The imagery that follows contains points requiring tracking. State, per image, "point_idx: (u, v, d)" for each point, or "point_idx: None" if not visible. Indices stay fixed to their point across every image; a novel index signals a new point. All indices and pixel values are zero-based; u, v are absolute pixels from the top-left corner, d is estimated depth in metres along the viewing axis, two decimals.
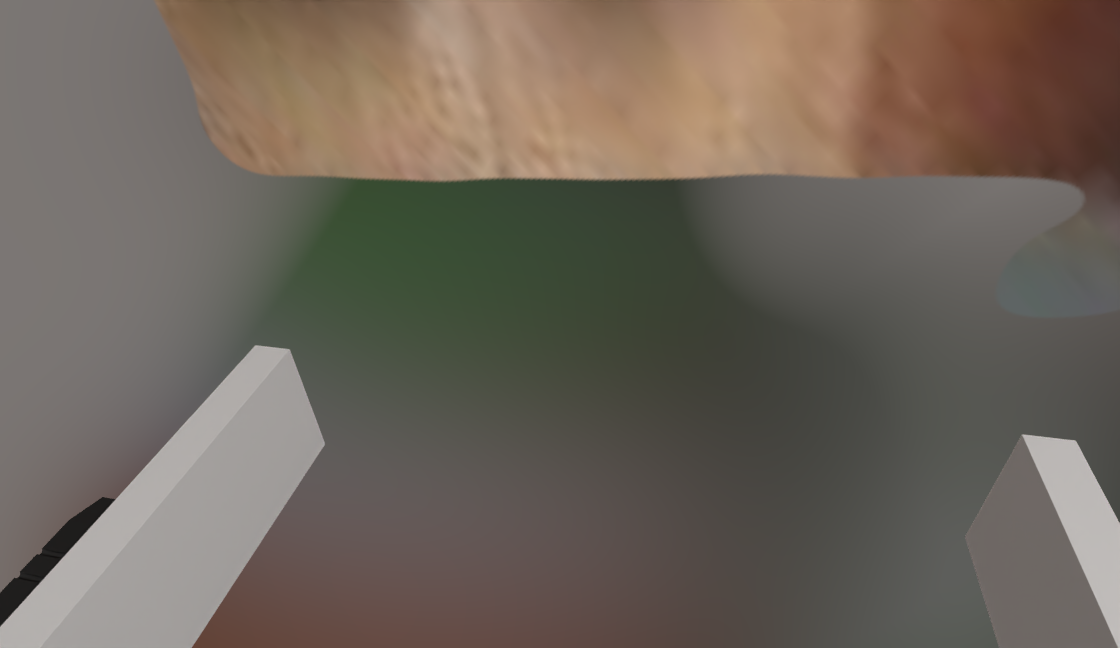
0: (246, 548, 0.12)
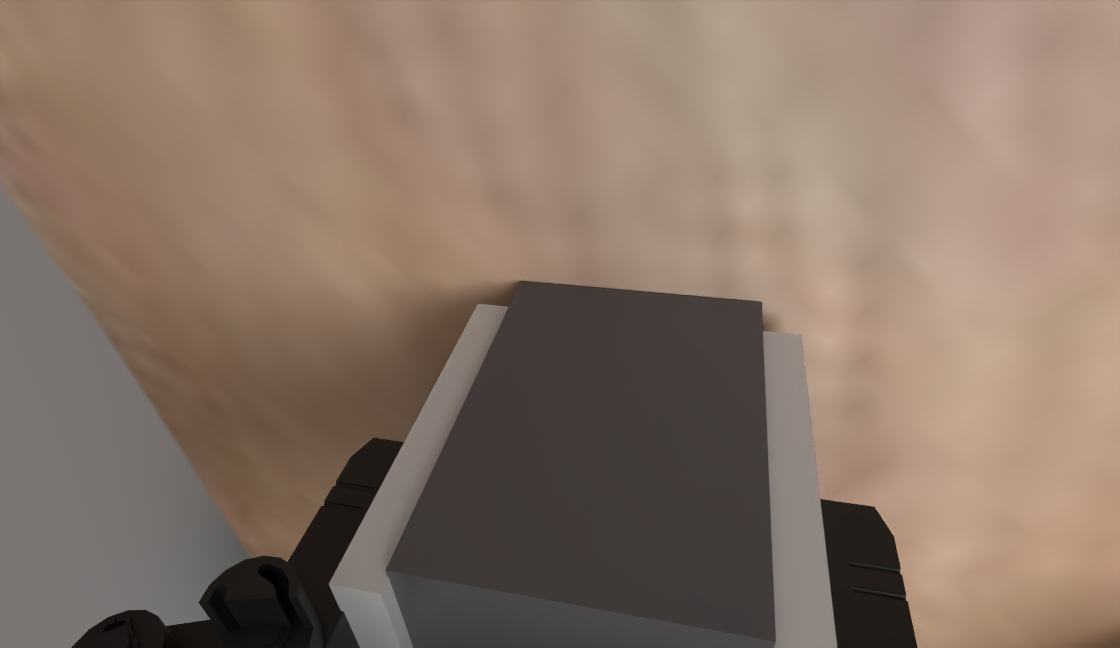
0: None
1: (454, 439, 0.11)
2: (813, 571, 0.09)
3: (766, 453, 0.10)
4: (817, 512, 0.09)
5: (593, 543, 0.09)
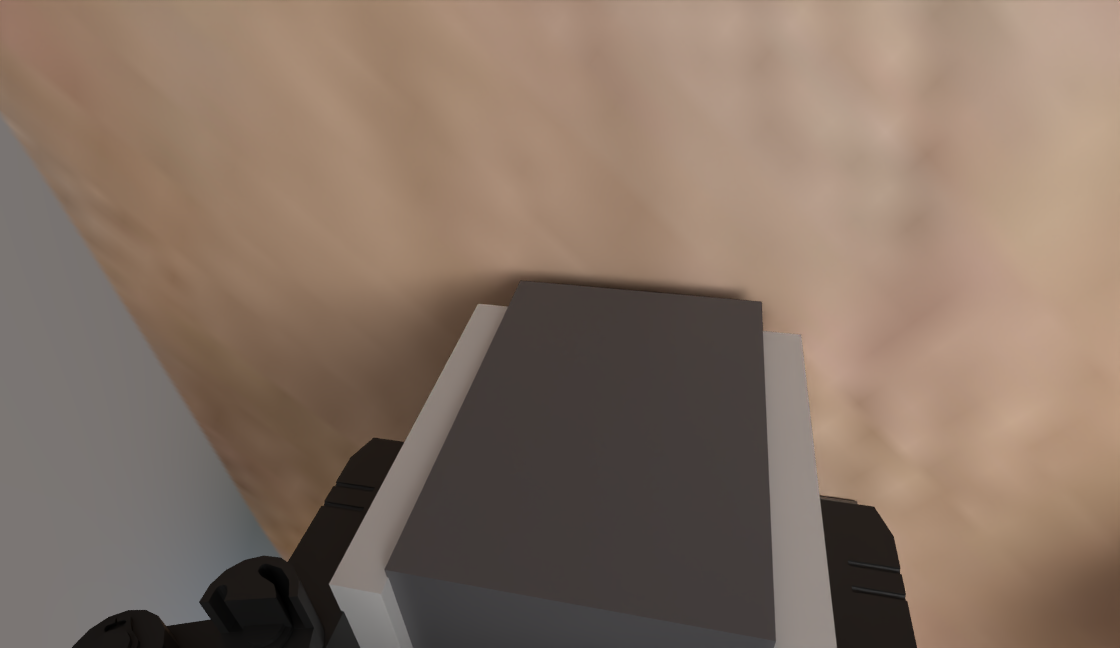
0: None
1: (453, 438, 0.11)
2: (813, 571, 0.09)
3: (766, 452, 0.10)
4: (817, 512, 0.09)
5: (593, 543, 0.09)
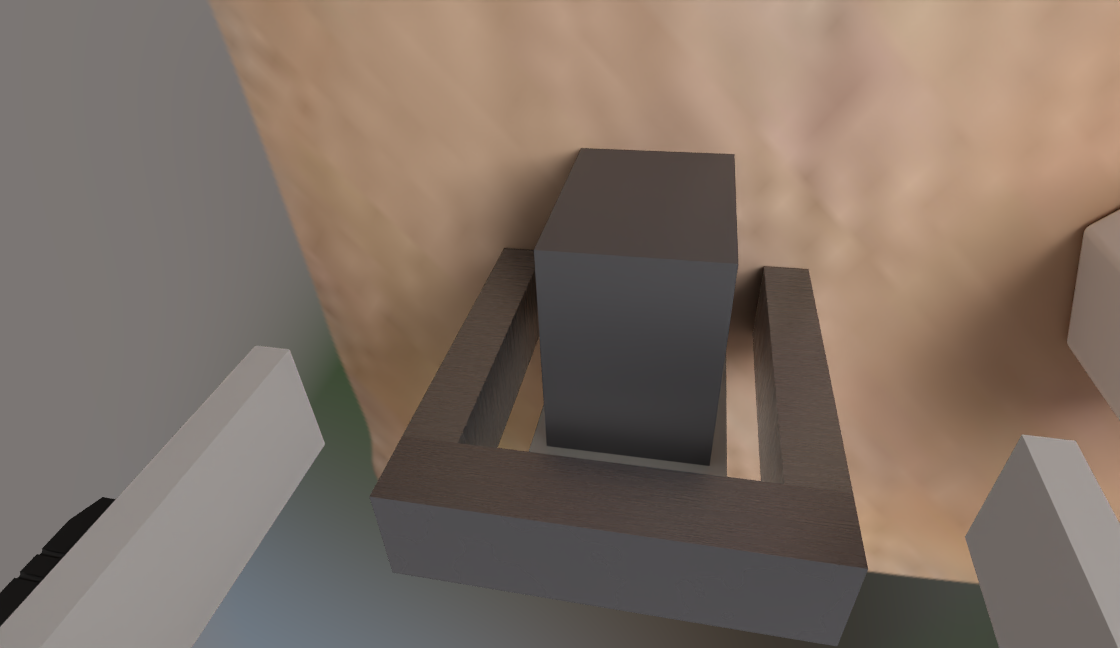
0: (245, 547, 0.12)
1: (557, 208, 0.18)
2: None
3: (735, 209, 0.18)
4: None
5: (643, 239, 0.17)
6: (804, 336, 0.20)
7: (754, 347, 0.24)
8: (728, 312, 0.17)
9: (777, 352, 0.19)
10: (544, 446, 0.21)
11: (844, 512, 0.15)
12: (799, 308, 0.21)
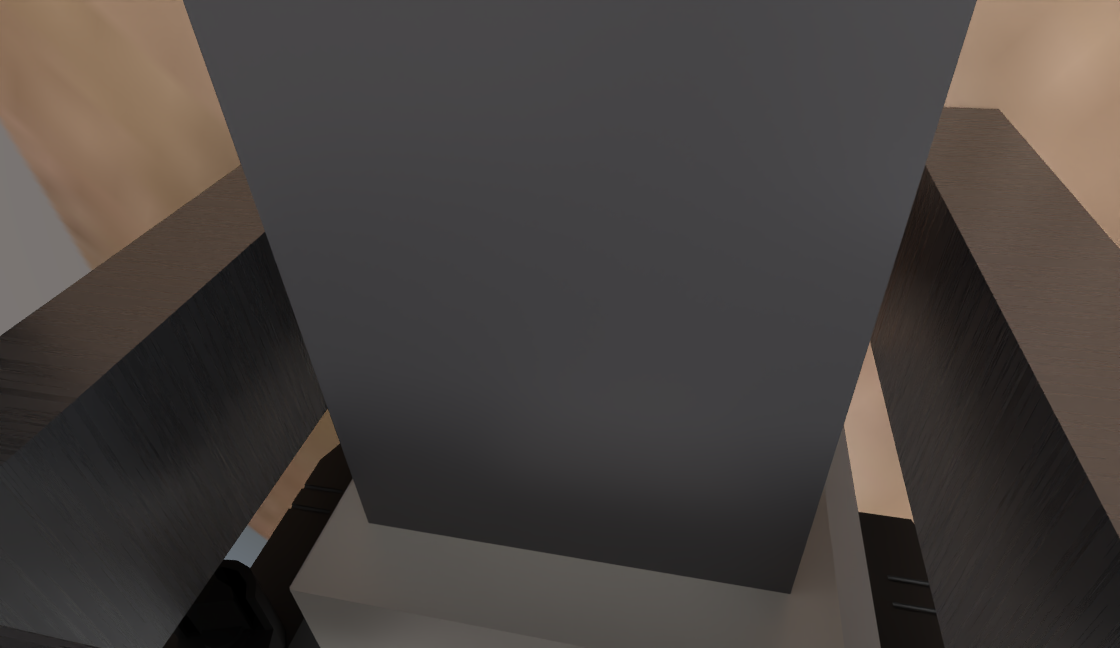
0: None
1: None
2: (855, 587, 0.08)
3: None
4: (856, 526, 0.09)
5: None
6: (1057, 236, 0.07)
7: None
8: (943, 64, 0.04)
9: (999, 276, 0.07)
10: (362, 524, 0.08)
11: None
12: (1014, 177, 0.08)
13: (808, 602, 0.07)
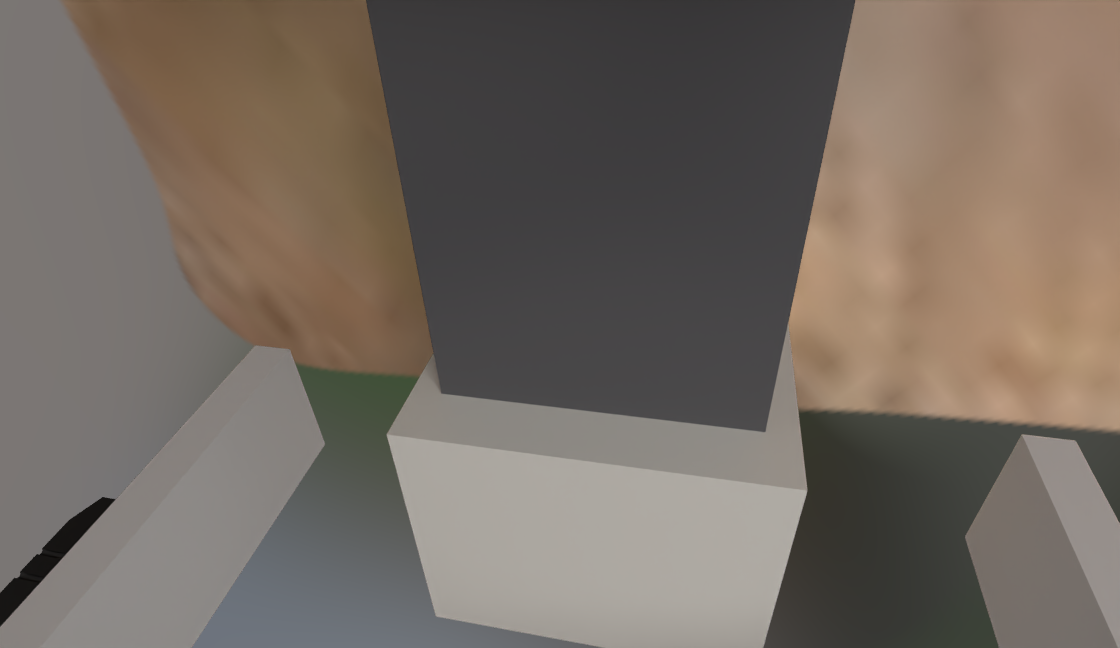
0: (245, 548, 0.12)
1: None
2: None
3: None
4: None
5: None
6: None
7: None
8: (843, 17, 0.06)
9: None
10: (437, 394, 0.11)
11: None
12: None
13: (778, 436, 0.10)
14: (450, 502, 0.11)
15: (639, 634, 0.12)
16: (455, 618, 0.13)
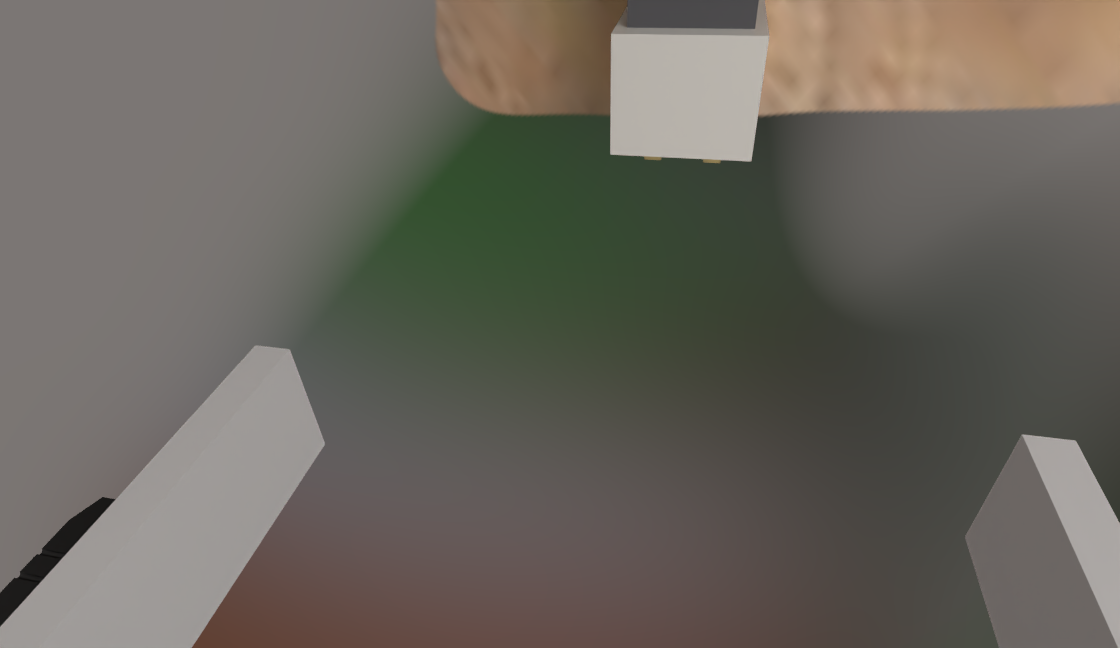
0: (246, 548, 0.12)
1: None
2: None
3: None
4: None
5: None
6: None
7: None
8: None
9: None
10: (625, 27, 0.27)
11: None
12: None
13: (759, 29, 0.26)
14: (630, 70, 0.27)
15: (702, 143, 0.28)
16: (619, 154, 0.29)
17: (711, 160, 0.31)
